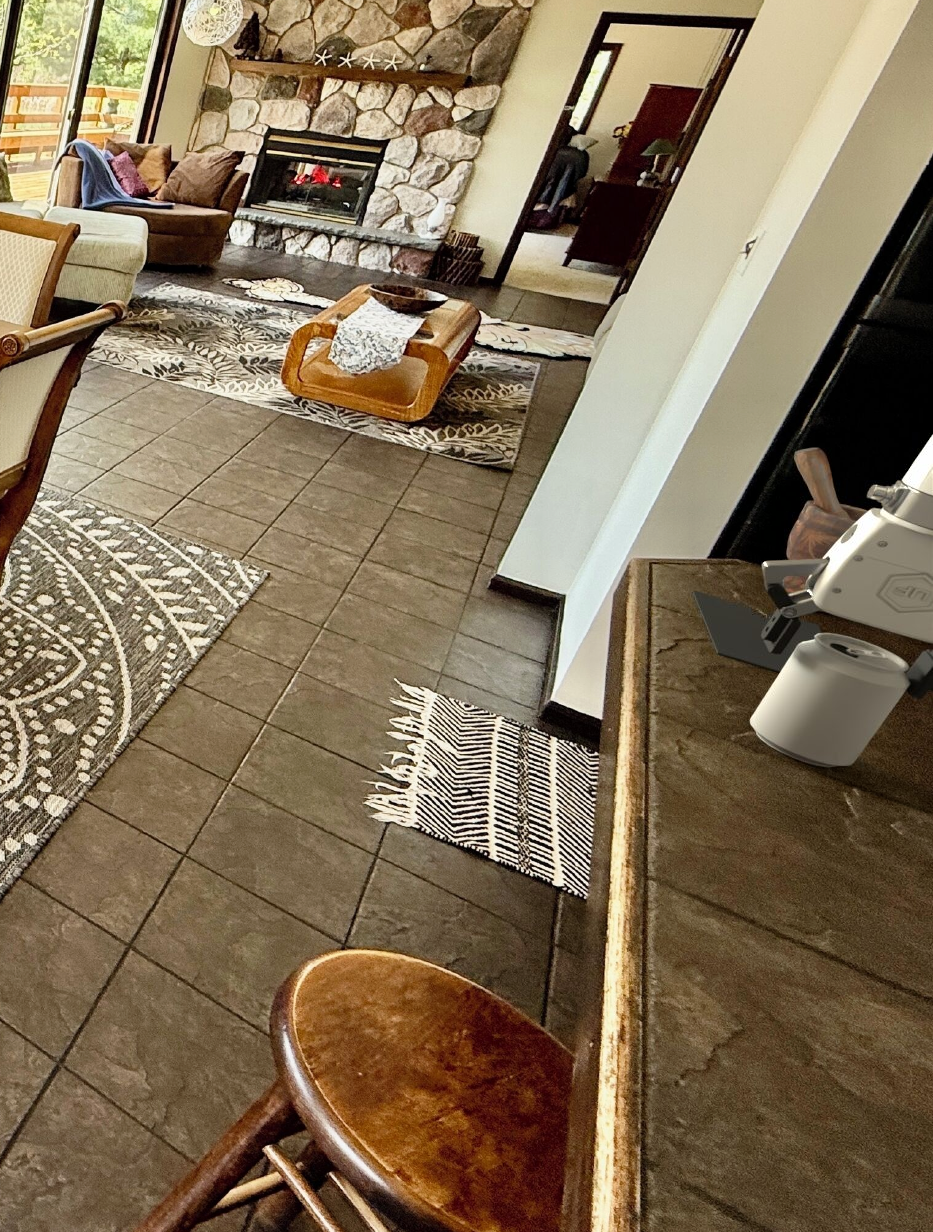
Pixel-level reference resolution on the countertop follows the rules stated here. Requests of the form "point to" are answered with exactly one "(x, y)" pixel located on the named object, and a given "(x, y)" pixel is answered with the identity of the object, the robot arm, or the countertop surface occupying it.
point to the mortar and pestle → (817, 516)
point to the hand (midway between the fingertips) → (838, 669)
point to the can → (830, 699)
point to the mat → (746, 632)
